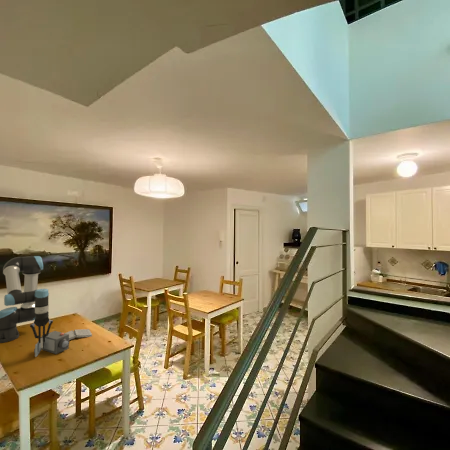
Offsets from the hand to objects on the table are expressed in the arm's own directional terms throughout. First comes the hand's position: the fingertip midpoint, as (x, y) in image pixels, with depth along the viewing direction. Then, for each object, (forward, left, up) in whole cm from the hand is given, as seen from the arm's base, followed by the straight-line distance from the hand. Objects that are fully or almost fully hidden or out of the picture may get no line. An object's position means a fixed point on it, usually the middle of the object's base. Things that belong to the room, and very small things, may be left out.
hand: (41, 347), depth 168 cm
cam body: (0, +10, -6) cm, 11 cm away
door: (-4, 0, -4) cm, 5 cm away
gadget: (-9, +30, -6) cm, 32 cm away
